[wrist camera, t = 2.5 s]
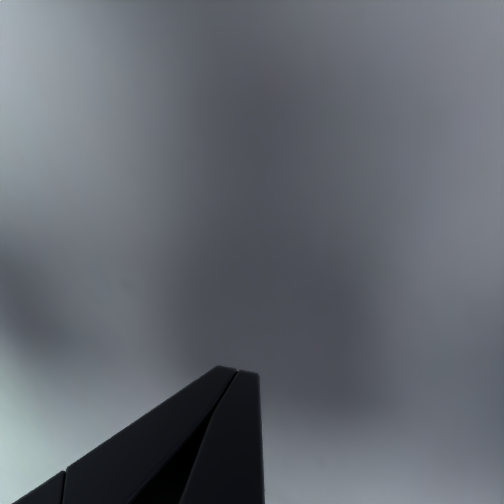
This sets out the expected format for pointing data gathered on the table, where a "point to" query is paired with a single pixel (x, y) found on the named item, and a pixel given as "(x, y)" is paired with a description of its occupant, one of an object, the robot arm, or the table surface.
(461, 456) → the table surface
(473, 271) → the table surface
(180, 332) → the table surface
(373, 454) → the table surface
